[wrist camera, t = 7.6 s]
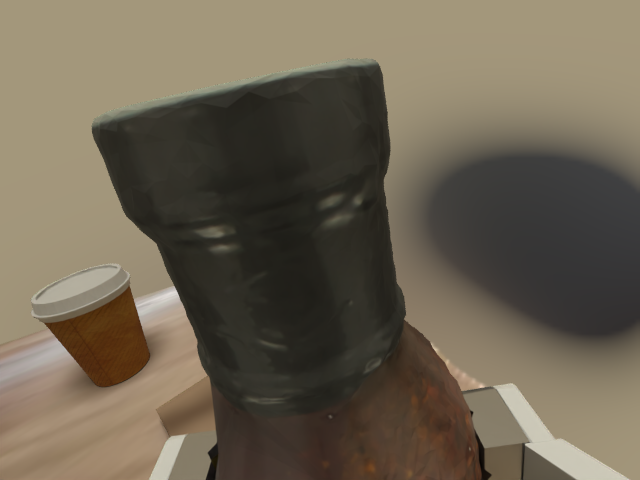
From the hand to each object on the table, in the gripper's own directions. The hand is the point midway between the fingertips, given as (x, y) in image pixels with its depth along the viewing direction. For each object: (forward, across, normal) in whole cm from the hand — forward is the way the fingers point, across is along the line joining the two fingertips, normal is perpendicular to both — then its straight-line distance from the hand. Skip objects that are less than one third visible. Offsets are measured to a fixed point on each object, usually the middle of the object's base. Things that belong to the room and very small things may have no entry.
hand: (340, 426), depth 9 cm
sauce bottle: (-1, 0, +12) cm, 12 cm away
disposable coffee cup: (+26, +28, +17) cm, 42 cm away
